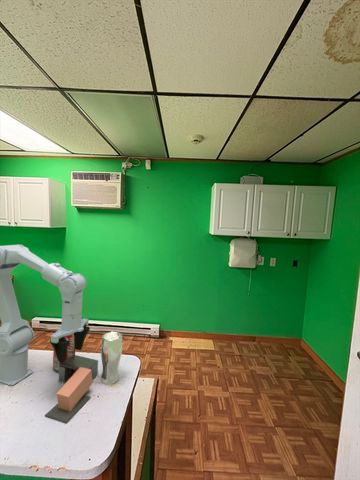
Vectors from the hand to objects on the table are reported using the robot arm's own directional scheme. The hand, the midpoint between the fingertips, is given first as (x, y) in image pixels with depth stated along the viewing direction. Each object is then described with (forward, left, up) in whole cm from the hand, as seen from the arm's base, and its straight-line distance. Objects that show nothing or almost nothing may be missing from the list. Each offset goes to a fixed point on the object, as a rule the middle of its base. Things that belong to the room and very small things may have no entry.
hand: (70, 354), depth 75 cm
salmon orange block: (+6, -4, -9) cm, 11 cm away
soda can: (-9, +8, -11) cm, 16 cm away
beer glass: (+10, +8, -11) cm, 17 cm away
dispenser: (0, +5, -10) cm, 11 cm away
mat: (+6, -7, -10) cm, 14 cm away
